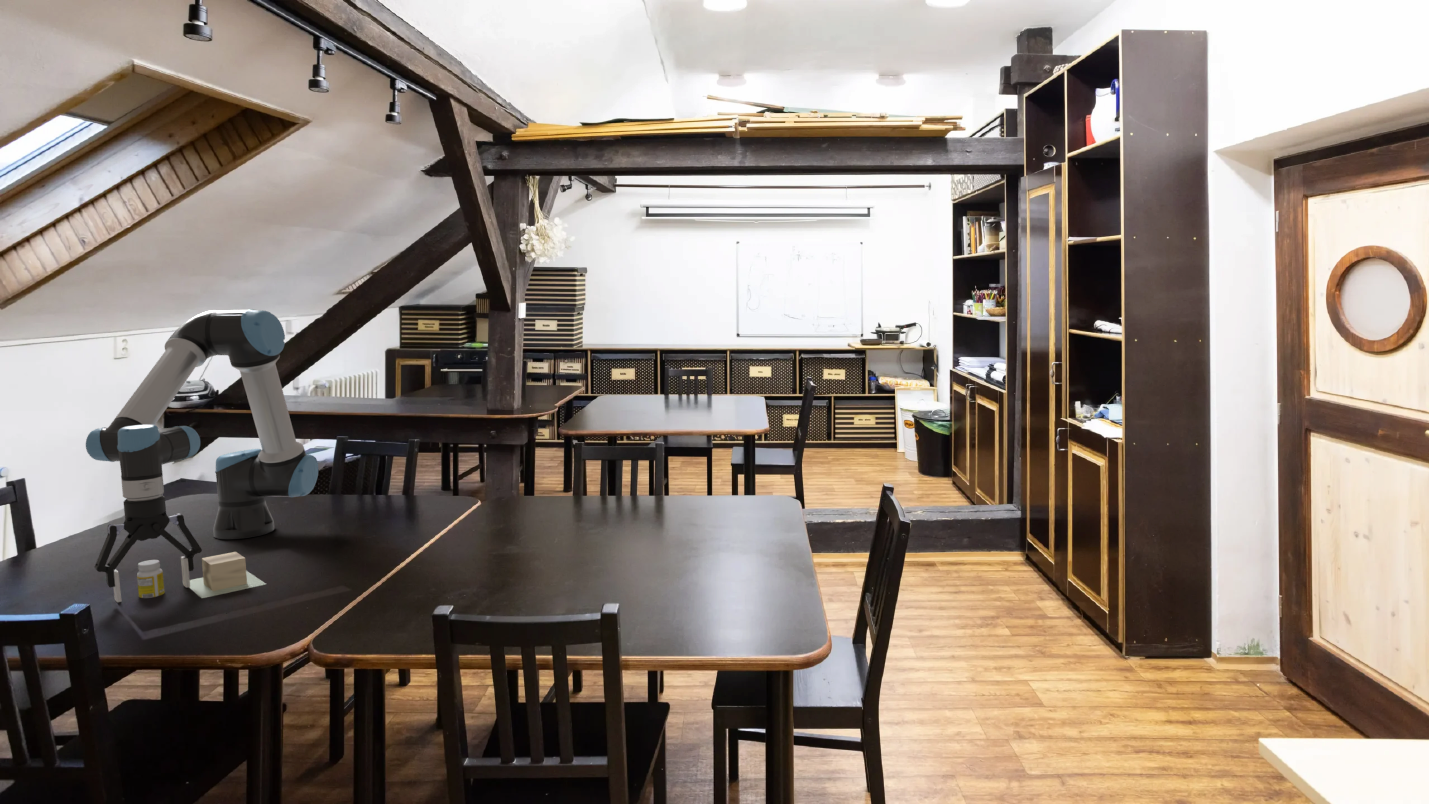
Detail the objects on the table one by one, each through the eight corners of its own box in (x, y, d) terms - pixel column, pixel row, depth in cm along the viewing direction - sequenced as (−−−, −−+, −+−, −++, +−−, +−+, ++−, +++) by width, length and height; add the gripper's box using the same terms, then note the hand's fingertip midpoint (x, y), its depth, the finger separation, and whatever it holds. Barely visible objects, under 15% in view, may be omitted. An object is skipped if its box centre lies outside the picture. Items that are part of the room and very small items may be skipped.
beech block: (203, 583, 197) (201, 558, 196) (237, 576, 202) (235, 551, 201) (212, 591, 192) (210, 564, 191) (247, 583, 197) (245, 557, 196)
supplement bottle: (159, 594, 194) (155, 557, 193) (169, 598, 191) (165, 561, 190) (135, 600, 190) (131, 563, 189) (145, 604, 187) (141, 566, 186)
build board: (182, 586, 199) (182, 581, 199) (244, 573, 208) (244, 568, 208) (202, 603, 187) (201, 598, 187) (266, 589, 197) (266, 584, 196)
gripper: (78, 509, 177) (88, 611, 179) (212, 490, 194) (220, 583, 196) (71, 504, 182) (82, 603, 185) (202, 485, 199) (210, 576, 202)
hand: (153, 593), depth 190 cm, fingers open, 12 cm apart
